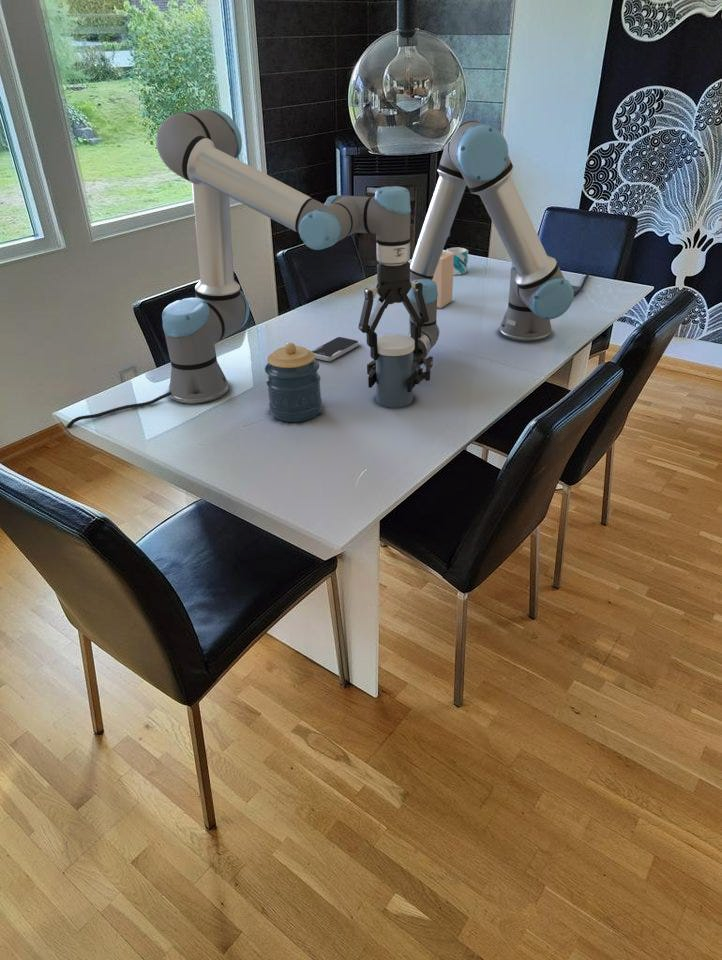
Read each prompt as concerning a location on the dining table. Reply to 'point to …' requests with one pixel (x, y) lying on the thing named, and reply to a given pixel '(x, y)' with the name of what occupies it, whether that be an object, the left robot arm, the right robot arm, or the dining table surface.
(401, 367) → the jar
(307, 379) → the canister
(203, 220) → the left robot arm
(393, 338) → the lid
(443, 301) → the soap dispenser
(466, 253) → the mug
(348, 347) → the smartphone
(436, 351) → the dining table surface
